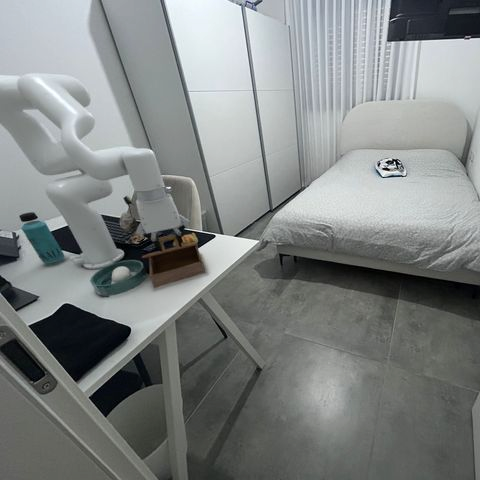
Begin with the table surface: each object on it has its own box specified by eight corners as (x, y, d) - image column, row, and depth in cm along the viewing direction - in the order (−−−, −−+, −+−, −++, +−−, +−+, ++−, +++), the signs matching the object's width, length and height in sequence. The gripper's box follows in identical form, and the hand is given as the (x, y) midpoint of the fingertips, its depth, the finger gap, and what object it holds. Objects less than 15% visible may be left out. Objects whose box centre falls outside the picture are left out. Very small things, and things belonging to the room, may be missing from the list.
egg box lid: (197, 244, 84) (193, 229, 84) (142, 258, 78) (137, 242, 77) (196, 243, 98) (192, 230, 98) (149, 255, 91) (144, 241, 91)
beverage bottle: (53, 258, 101) (24, 210, 91) (71, 257, 101) (44, 209, 91) (39, 267, 95) (6, 218, 85) (58, 266, 95) (27, 217, 86)
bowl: (93, 303, 78) (86, 291, 76) (99, 278, 89) (94, 268, 86) (147, 287, 84) (142, 276, 82) (147, 266, 95) (143, 255, 93)
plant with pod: (139, 233, 118) (123, 191, 109) (152, 239, 113) (135, 195, 103) (120, 240, 112) (100, 196, 103) (132, 247, 107) (112, 202, 97)
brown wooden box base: (206, 274, 90) (202, 261, 87) (155, 289, 83) (149, 276, 80) (199, 255, 101) (196, 243, 98) (154, 267, 94) (149, 255, 91)
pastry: (176, 251, 104) (173, 243, 102) (172, 244, 108) (169, 236, 107) (200, 243, 109) (197, 235, 107) (195, 238, 114) (193, 230, 112)
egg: (130, 286, 85) (128, 273, 83) (111, 288, 82) (109, 275, 80) (131, 275, 90) (129, 263, 88) (113, 277, 87) (111, 264, 85)
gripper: (182, 185, 82) (197, 236, 90) (117, 195, 74) (140, 249, 83) (185, 191, 76) (200, 245, 85) (115, 203, 68) (140, 260, 77)
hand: (170, 246), depth 84 cm, fingers closed on egg box lid, 5 cm apart
